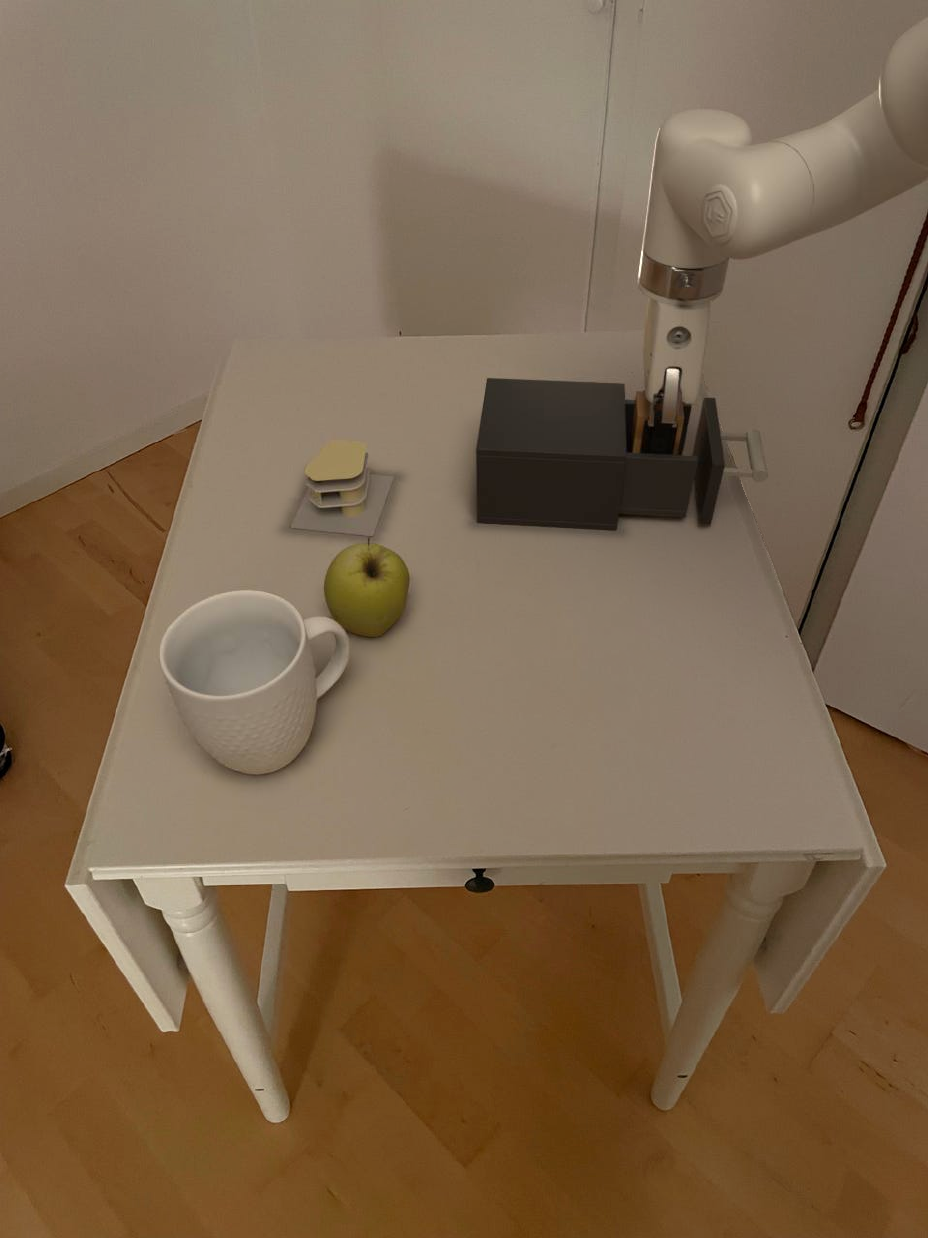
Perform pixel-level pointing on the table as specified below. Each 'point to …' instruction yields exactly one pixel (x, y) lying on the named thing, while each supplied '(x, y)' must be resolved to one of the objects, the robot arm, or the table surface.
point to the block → (642, 415)
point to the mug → (248, 676)
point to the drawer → (685, 469)
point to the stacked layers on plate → (342, 491)
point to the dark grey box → (551, 453)
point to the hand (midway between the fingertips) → (655, 438)
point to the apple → (366, 588)
